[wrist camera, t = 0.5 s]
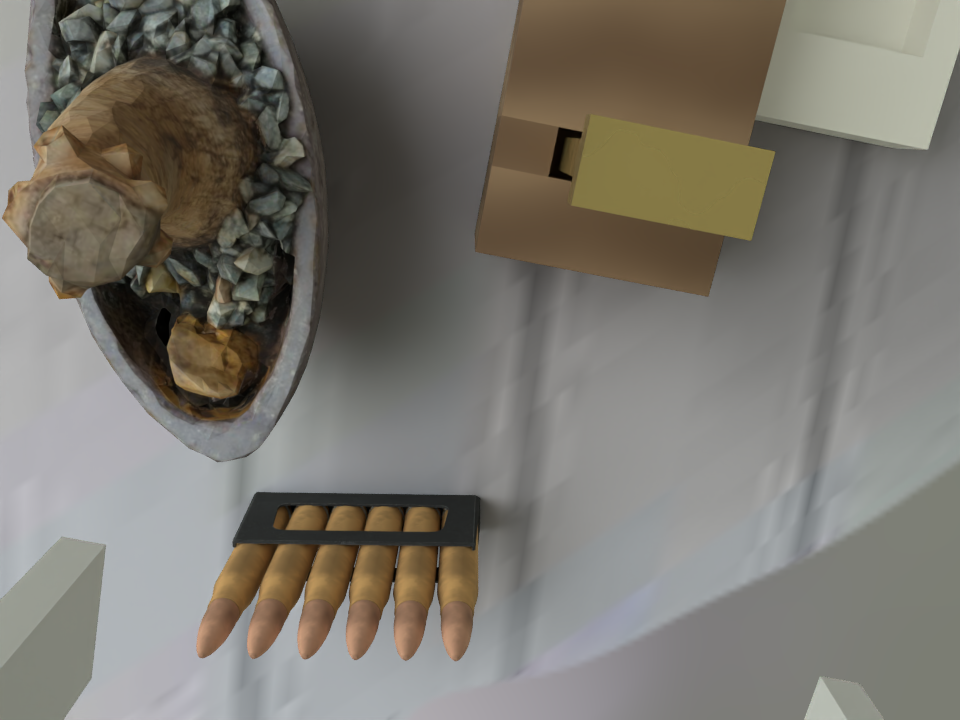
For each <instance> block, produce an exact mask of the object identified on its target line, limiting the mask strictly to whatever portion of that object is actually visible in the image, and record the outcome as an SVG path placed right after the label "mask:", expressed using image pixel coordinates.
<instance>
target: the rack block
mask: <svg viewBox="0 0 960 720" xmlns="http://www.w3.org/2000/svg"><path fill="white" fill-rule="evenodd" d="M959 49H960V0H786V4H785V8H784V12H783V15H782V19H781V23H780V27H779V31H778V34H777V38H776V42H775V46H774V50H773V53H772V57H771V61H770V65H769V68H768V72H767V76H766V80H765V84H764V87H763V91H762V95H761V99H760V103H759V106H758V110H757V114H756V118H755V120H758V121H763V122H767V123H772V124H777V125H782V126H787V127H792V128H797V129H801V130H806V131H811V132H816V133H821V134H826V135H831V136H836V137H840V138H845V139H850V140H855V141H860V142H865V143H870V144H875V145H879V146H884V147H889V148H899V149H920V150H928V148H929V144H930V141H931V138H932V135H933V132H934V128H935V125H936V122H937V119H938V116H939V113H940V109H941V106H942V103H943V100H944V97H945V93H946V90H947V87H948V84H949V81H950V78H951V74H952V71H953V68H954V65H955V62H956V58H957V55H958V52H959Z"/></svg>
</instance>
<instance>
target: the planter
mask: <svg viewBox="0 0 960 720" xmlns="http://www.w3.org/2000/svg"><path fill="white" fill-rule="evenodd" d="M25 75H26V81H27V87H28V93H27V102H26V103H27V109H28V115H29V131H30V137H31V143H32V149H33V155H34V157H33V161H34V166H35V172H34V175H33V177H32V179H31V180H30V181H20V182H17V183H16V184H15V185H14V186H13V187H12V188H11V189H10V190H9V191H8V206H7V208H6V210H5V212H4V215H3V217H2V219H3V220H4V221H5V222H6V223H7V224H8V226H9V227H10V228H11V229H12V230H13V231H14V233H15V234H16V235H17V236H18V237H19V238H20V240H21V241H22V242H23V243H24V244H25V245H26V247H27V248H28V256H27V259H28V260H29V261H30V262H32V263H33V264H34V265H35V266H36V267H37V268H38V269H39V270H41V271H42V272H43V273H44V274H45V275H47V276H49V282H50V284H51V286H52V288H53V289H54V291H55V293H56V294H57V296H58V298H59V299H68V298H76V299H77V301H78V304H79V306H80V308H81V311H82V313H83V315H84V318H85V320H86V322H87V325H88V327H89V329H90V332H91V334H92V336H93V338H94V340H95V341H96V343H97V344H98V346H99V348H100V349H101V351H102V353H103V354H104V356H105V357H106V359H107V360H108V362H109V363H110V365H111V366H112V368H113V369H114V371H115V372H116V374H117V375H118V376H119V378H120V379H121V381H122V382H123V383H124V384H125V386H126V387H127V388H128V389H129V391H130V392H131V393H132V394H133V396H134V397H135V398H136V399H137V401H138V402H139V403H140V404H141V405H142V407H143V408H144V409H145V410H146V412H147V413H148V414H149V415H150V416H151V417H153V418H154V419H155V420H156V421H157V422H159V423H160V424H161V425H162V426H163V427H164V428H166V429H167V430H168V431H169V432H170V433H172V434H173V435H174V436H175V437H176V438H178V439H179V440H180V441H181V442H182V443H183V444H185V445H186V446H187V447H188V448H190V449H192V450H194V451H197V452H199V453H201V454H204V455H206V456H207V457H209V458H211V459H213V460H215V461H216V462H224V461H229V460H234V459H239V458H244V457H247V456H248V455H250V454H251V453H253V452H254V451H255V450H257V449H258V448H259V447H260V446H261V445H262V443H263V442H264V441H265V439H266V438H267V437H268V435H269V434H270V432H271V431H272V430H273V428H274V427H275V425H276V423H277V422H278V420H279V419H280V417H281V416H282V414H283V412H284V410H285V409H286V407H287V405H288V404H289V402H290V400H291V398H292V397H293V395H294V393H295V391H296V389H297V387H298V384H299V382H300V380H301V377H302V375H303V373H304V370H305V368H306V366H307V362H308V359H309V356H310V353H311V350H312V346H313V343H314V339H315V335H316V331H317V327H318V322H319V318H320V312H321V306H322V301H323V292H324V283H325V274H326V265H327V256H328V247H329V246H328V233H329V227H328V212H327V186H326V173H325V162H324V156H323V150H322V145H321V139H320V133H319V129H318V124H317V120H316V115H315V111H314V107H313V103H312V100H311V96H310V93H309V89H308V86H307V82H306V79H305V75H304V72H303V69H302V66H301V63H300V60H299V58H298V55H297V52H296V49H295V46H294V43H293V41H292V38H291V36H290V34H289V31H288V29H287V26H286V24H285V22H284V19H283V17H282V15H281V12H280V10H279V8H278V6H277V3H276V1H275V0H31V7H30V19H29V31H28V44H27V58H26V66H25Z"/></svg>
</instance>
